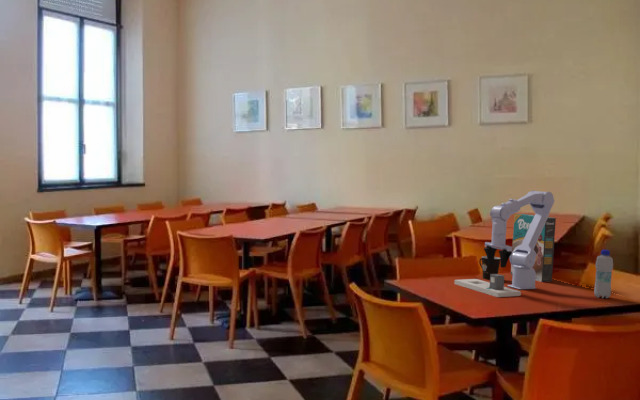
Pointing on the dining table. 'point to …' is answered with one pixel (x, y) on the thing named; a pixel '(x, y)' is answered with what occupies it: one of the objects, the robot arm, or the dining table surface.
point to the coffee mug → (489, 267)
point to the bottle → (603, 274)
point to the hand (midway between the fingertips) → (496, 265)
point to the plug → (497, 281)
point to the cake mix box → (537, 245)
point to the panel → (486, 288)
